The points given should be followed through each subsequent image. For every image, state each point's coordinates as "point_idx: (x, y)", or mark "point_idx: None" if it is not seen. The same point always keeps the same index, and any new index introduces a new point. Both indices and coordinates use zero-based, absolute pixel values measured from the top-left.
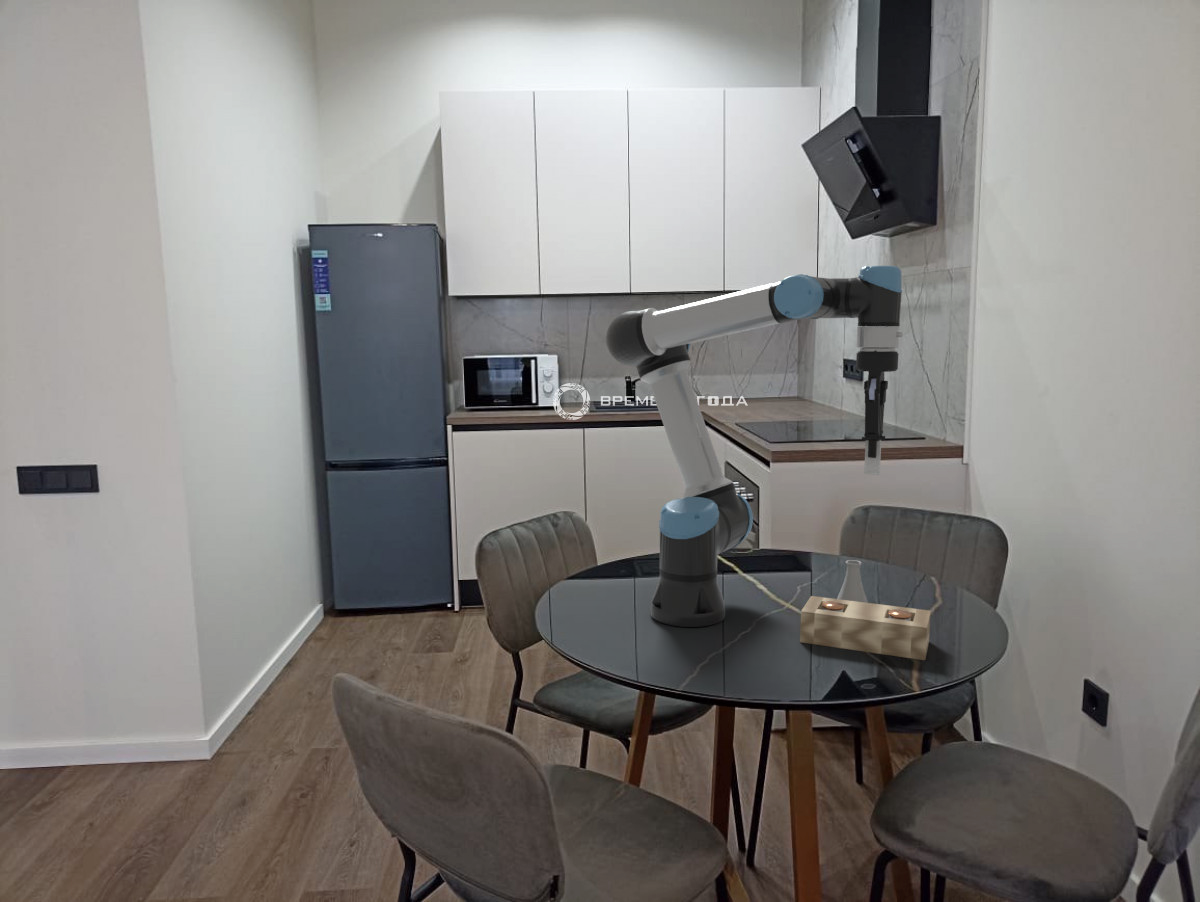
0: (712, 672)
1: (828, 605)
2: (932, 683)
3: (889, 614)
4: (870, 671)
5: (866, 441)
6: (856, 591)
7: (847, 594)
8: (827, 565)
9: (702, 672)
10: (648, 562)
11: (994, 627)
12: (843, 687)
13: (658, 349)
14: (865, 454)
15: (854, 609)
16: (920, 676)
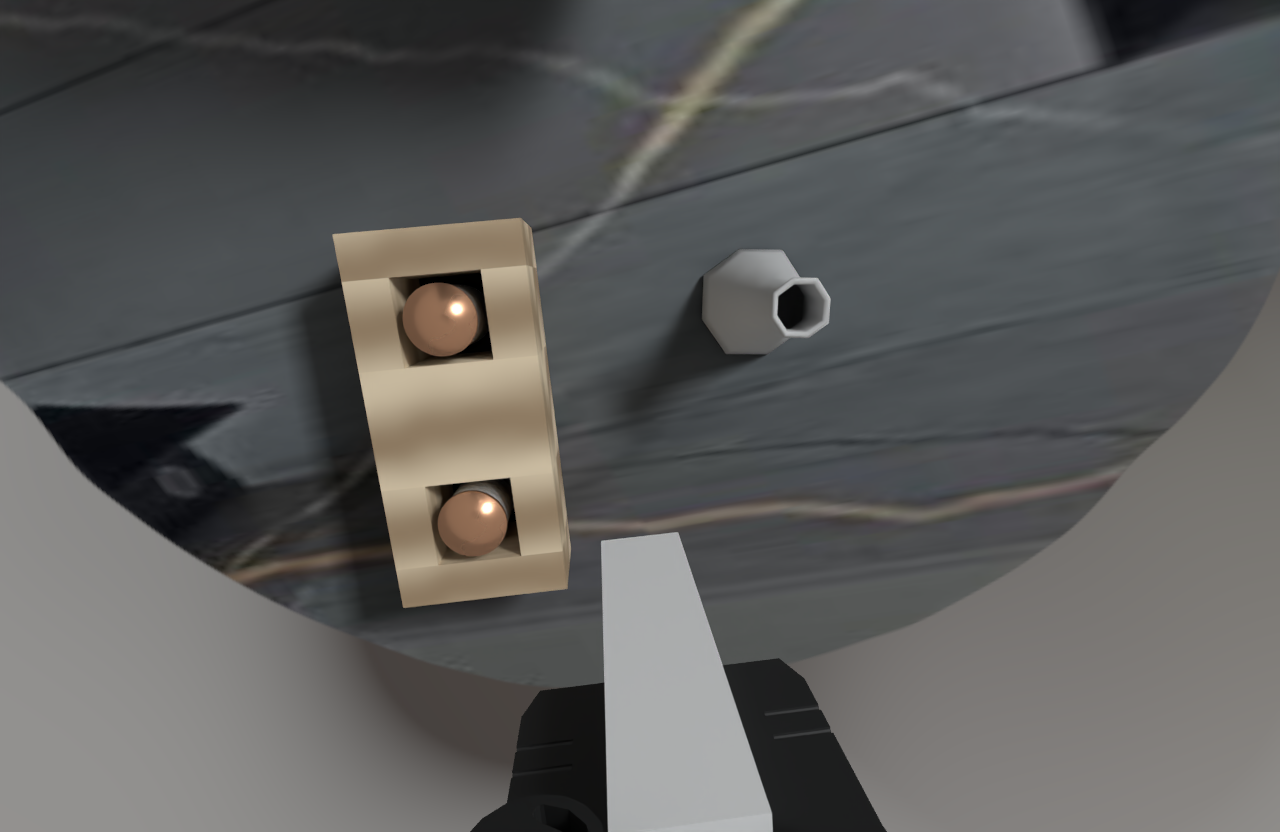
0: None
1: (421, 308)
2: (290, 603)
3: (451, 497)
4: (275, 466)
5: (611, 828)
6: (741, 324)
7: (729, 296)
8: (1203, 103)
9: None
10: None
11: None
12: (129, 433)
13: None
14: (605, 661)
15: (453, 389)
16: (317, 573)
